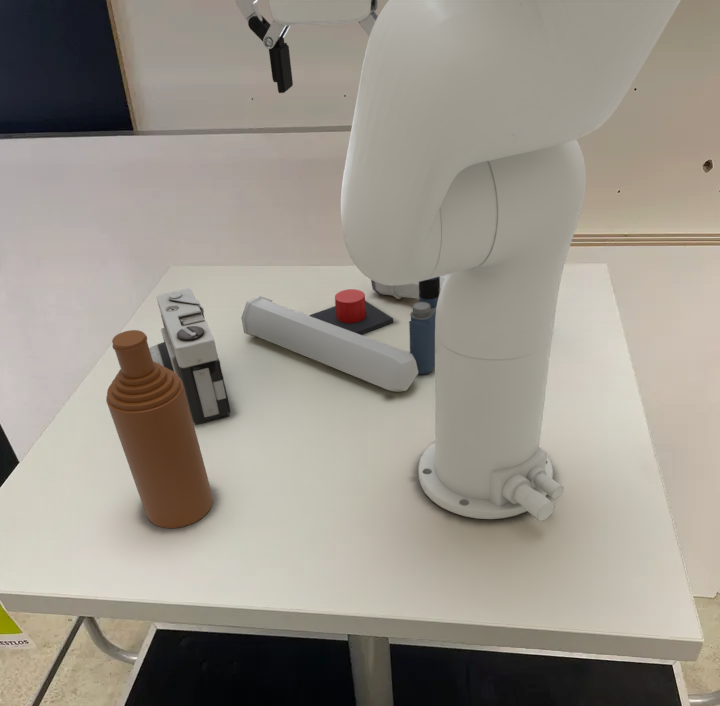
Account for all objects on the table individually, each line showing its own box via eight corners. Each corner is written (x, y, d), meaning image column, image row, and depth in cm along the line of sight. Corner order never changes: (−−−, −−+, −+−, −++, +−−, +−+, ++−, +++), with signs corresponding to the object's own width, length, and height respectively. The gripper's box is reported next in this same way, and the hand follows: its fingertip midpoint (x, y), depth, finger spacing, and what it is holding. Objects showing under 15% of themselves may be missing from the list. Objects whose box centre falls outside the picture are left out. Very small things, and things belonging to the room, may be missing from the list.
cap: (356, 306, 97) (355, 286, 95) (371, 317, 94) (370, 296, 92) (331, 315, 95) (329, 294, 94) (345, 326, 93) (344, 305, 91)
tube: (430, 350, 80) (273, 293, 93) (402, 356, 76) (242, 296, 89) (421, 395, 83) (269, 334, 96) (393, 403, 79) (239, 338, 92)
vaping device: (443, 355, 87) (444, 259, 79) (428, 377, 83) (427, 279, 76) (423, 351, 88) (422, 257, 80) (407, 373, 84) (404, 276, 77)
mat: (393, 322, 94) (393, 318, 94) (341, 342, 91) (341, 337, 91) (360, 301, 99) (359, 297, 99) (310, 318, 96) (309, 314, 96)
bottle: (226, 502, 69) (184, 334, 57) (170, 538, 65) (113, 367, 54) (188, 475, 72) (141, 311, 61) (133, 507, 69) (72, 341, 58)
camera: (143, 372, 88) (120, 297, 82) (209, 357, 90) (192, 282, 84) (160, 434, 78) (135, 353, 72) (233, 415, 80) (216, 334, 74)
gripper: (416, -137, 64) (419, 78, 75) (234, -121, 68) (262, 82, 79) (402, -136, 59) (407, 96, 70) (205, -119, 62) (239, 99, 73)
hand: (330, 88), depth 74 cm, fingers open, 9 cm apart
